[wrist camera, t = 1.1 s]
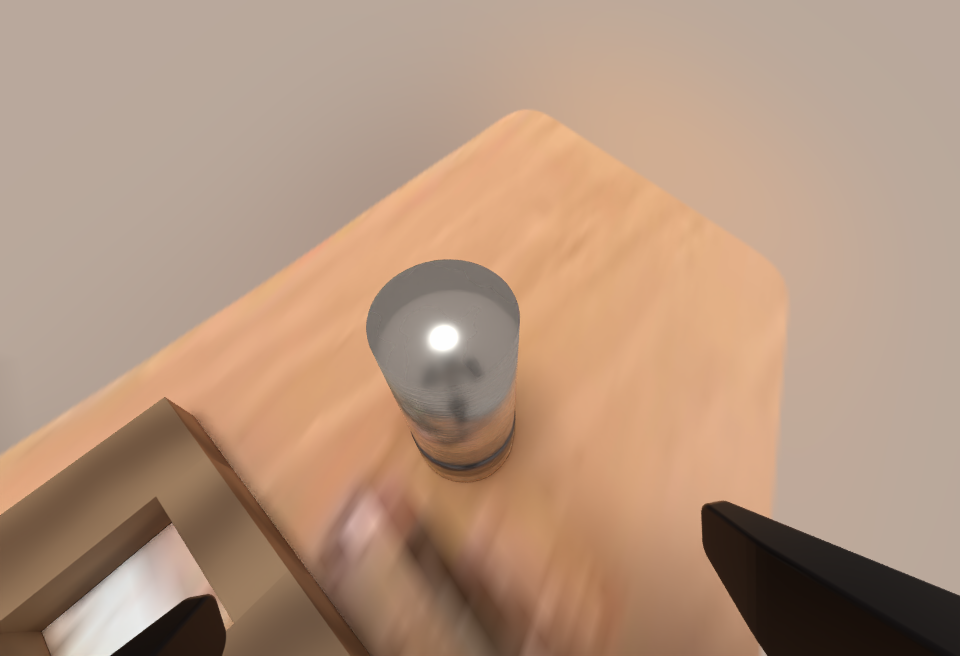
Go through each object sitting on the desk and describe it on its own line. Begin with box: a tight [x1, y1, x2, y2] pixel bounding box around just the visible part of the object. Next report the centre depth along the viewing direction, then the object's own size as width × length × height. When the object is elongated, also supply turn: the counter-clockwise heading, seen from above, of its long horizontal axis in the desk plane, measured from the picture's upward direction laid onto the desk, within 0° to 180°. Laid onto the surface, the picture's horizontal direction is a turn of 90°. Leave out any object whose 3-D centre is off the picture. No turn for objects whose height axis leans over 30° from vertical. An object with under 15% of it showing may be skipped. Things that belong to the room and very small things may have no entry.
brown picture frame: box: [0, 397, 370, 656], centre depth 18 cm, size 16×12×2 cm
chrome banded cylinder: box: [366, 260, 520, 482], centre depth 19 cm, size 5×5×11 cm
